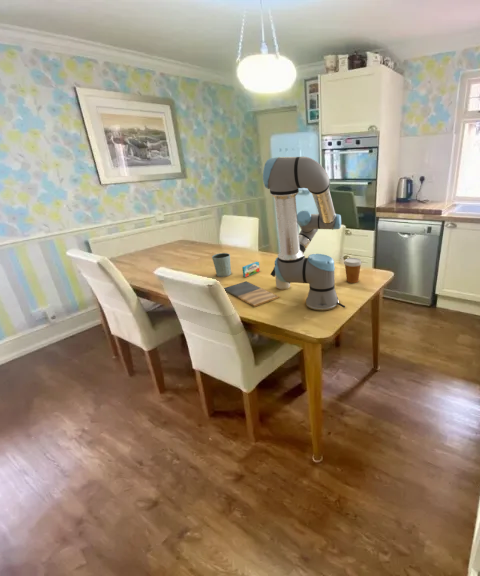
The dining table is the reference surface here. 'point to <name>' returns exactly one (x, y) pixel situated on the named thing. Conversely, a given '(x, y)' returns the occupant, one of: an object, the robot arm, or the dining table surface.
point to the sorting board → (250, 293)
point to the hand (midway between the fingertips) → (279, 278)
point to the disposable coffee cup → (352, 269)
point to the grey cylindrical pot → (222, 264)
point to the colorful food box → (250, 269)
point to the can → (281, 284)
